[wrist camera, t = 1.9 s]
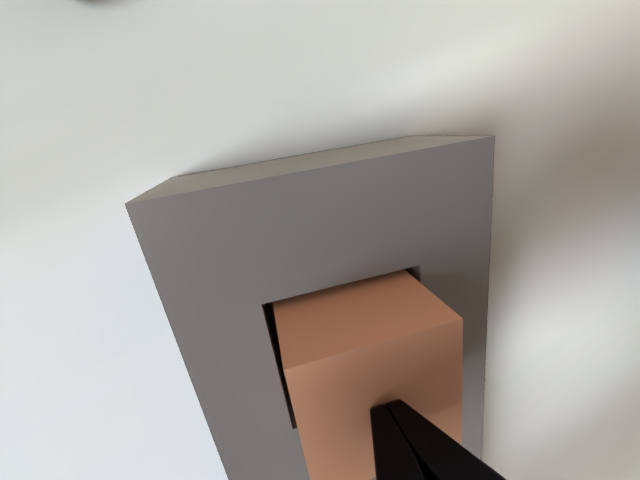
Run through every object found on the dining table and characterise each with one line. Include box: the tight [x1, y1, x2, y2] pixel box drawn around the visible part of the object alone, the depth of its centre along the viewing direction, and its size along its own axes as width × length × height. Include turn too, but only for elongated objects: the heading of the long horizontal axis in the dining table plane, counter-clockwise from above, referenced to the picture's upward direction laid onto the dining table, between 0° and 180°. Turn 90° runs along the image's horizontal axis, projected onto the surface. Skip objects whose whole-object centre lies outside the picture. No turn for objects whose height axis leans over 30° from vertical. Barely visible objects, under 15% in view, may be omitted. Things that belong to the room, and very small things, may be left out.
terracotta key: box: [272, 269, 463, 480], centre depth 10 cm, size 4×4×4 cm
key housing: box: [125, 136, 495, 480], centre depth 15 cm, size 25×10×5 cm, turn 9°
